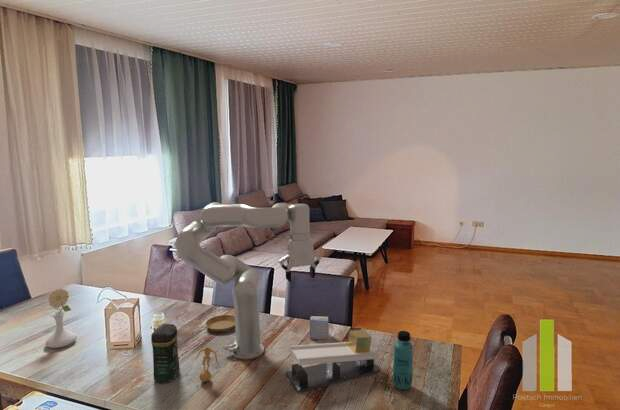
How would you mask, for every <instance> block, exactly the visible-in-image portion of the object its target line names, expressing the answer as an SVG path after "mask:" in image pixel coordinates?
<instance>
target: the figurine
mask: <svg viewBox="0 0 620 410" xmlns="http://www.w3.org/2000/svg"><path fill="white" fill-rule="evenodd" d="M201 352H204V356H203V359H202V363H201V364H202V365H203V369H202V370H201V372H200V374H199V380H200V381H201V382H203V383H207V382H209V381H210V380H211V378H212V373H211V371H210V369H209V368H210V363H211V362H210V361H211V359H212V358H211V356H210V355H211V353H213V354H214V355H215V356H214V358H215V360H214V361H215V362H216V363H218V357H217V352H216V351H214V350H213V349H212V347H211V346H205V347H204V348H203V349H200V350H199V352H198V353H197V355H196V357H195V360H197V359H198V357H199V355H200V354H201ZM206 366H207V368H206Z"/></svg>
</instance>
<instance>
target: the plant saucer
mask: <svg viewBox="0 0 620 410" xmlns="http://www.w3.org/2000/svg"><path fill="white" fill-rule="evenodd" d="M205 326H206V327H207V328H208V329H209V330H210V331H213V332H215V333H224V332H227V331H231V330H233V328H235V315H231V314H223V315H222V314H221V315H216V316H212V317H210V318H209V319H207V320H206V321H205Z"/></svg>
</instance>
